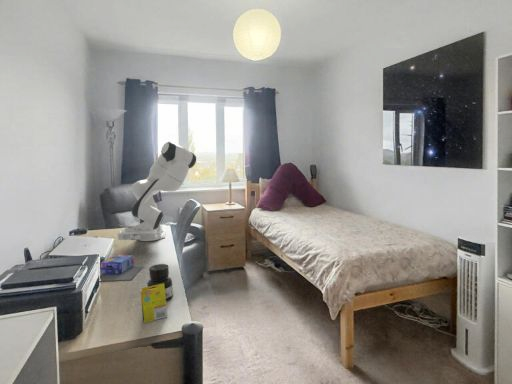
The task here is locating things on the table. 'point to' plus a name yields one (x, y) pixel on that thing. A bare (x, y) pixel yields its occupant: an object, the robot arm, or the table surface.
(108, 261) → the ink cartridge box
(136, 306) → the table surface
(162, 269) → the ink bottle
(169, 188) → the robot arm
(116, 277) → the desk mat
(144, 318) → the crayon box
